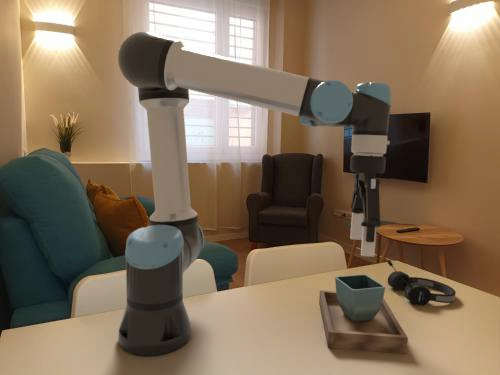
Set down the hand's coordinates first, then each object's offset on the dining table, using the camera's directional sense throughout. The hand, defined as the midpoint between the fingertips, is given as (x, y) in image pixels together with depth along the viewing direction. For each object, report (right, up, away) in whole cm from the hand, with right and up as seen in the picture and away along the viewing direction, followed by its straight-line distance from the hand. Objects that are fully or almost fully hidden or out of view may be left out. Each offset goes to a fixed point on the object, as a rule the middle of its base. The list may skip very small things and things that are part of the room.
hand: (361, 247), depth 86 cm
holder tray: (0, -19, +2) cm, 19 cm away
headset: (+23, -18, +21) cm, 36 cm away
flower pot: (0, -18, +4) cm, 18 cm away
